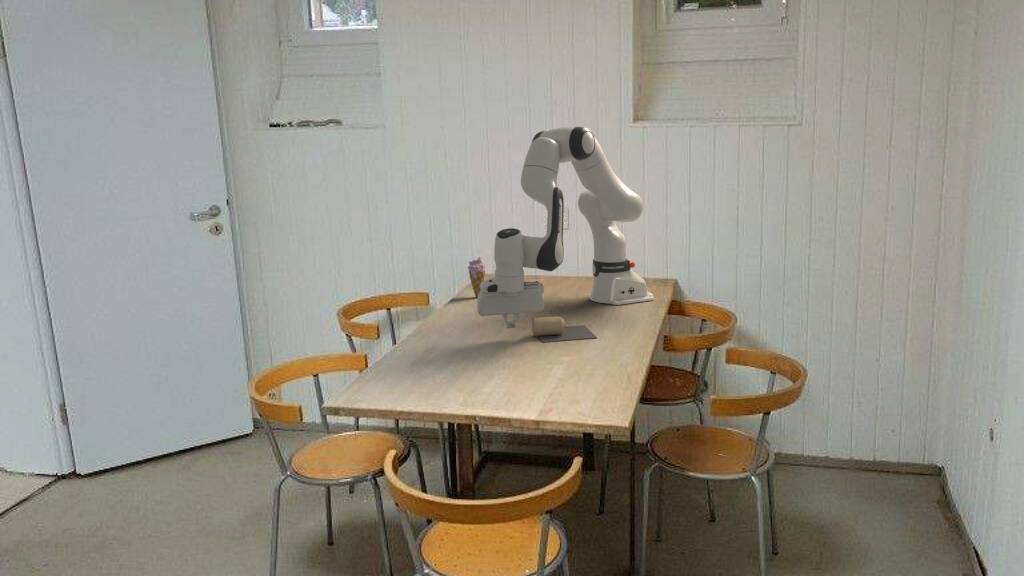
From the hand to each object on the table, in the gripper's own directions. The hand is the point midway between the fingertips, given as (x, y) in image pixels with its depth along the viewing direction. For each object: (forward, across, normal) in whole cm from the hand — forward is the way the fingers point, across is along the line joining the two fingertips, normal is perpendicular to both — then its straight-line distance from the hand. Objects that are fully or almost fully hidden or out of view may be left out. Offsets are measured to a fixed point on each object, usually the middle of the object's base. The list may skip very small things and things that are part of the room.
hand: (511, 327), depth 276 cm
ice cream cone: (+4, +2, -53) cm, 53 cm away
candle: (0, -6, 0) cm, 7 cm away
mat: (+4, -16, 0) cm, 17 cm away
